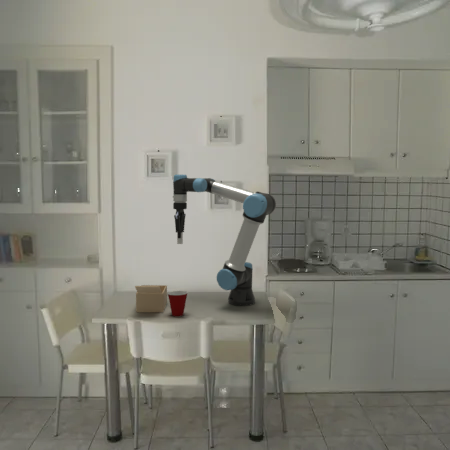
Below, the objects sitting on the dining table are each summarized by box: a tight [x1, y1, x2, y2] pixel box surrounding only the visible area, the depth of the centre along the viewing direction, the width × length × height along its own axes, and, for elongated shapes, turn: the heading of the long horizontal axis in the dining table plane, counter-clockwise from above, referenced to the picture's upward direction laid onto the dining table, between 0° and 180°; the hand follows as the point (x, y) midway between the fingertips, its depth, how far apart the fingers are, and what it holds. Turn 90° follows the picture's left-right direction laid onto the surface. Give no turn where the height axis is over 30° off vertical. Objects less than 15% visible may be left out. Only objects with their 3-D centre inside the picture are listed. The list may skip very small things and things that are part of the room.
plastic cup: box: [167, 290, 189, 317], centre depth 237 cm, size 11×11×12 cm
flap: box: [134, 285, 161, 293], centre depth 236 cm, size 12×1×10 cm
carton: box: [135, 284, 168, 313], centre depth 250 cm, size 14×18×10 cm
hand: (179, 243), depth 263 cm, fingers closed
